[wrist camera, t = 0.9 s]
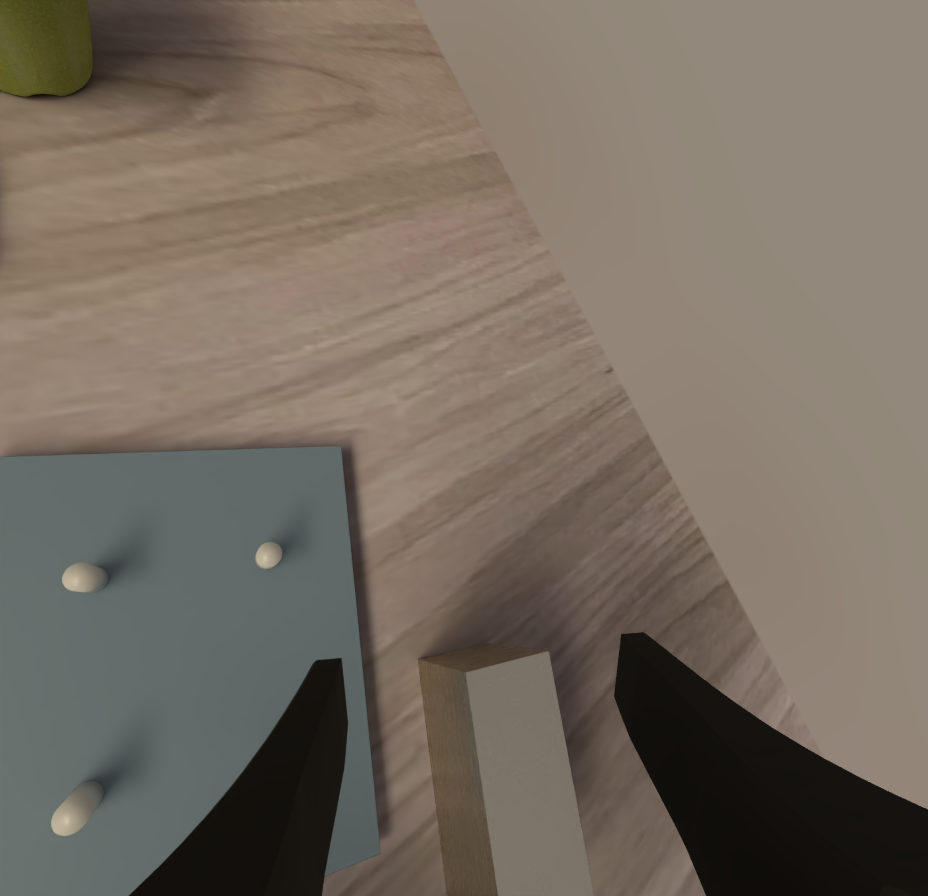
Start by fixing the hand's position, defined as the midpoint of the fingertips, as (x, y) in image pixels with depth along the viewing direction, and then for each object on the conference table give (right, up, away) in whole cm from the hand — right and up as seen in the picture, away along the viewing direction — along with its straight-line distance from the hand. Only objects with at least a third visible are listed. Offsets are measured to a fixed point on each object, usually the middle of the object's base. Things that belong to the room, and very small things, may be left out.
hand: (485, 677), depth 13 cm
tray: (-12, -3, +8) cm, 15 cm away
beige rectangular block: (0, -9, +12) cm, 15 cm away
